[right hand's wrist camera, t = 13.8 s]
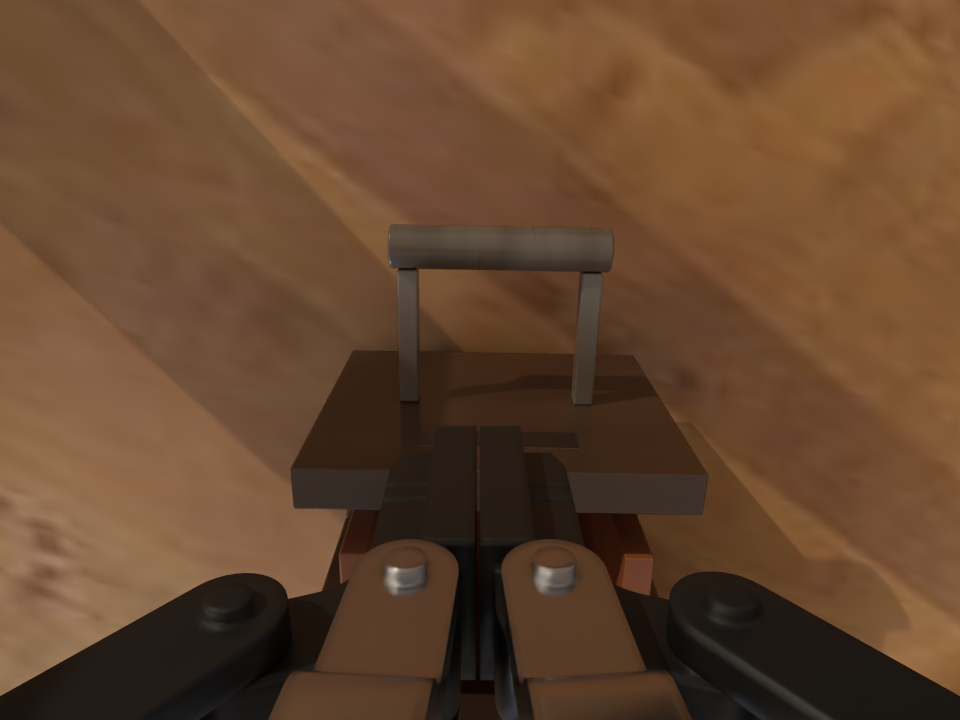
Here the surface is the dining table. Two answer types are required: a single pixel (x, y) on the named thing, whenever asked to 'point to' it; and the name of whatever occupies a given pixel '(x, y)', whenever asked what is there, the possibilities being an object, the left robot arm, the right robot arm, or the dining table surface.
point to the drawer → (505, 408)
